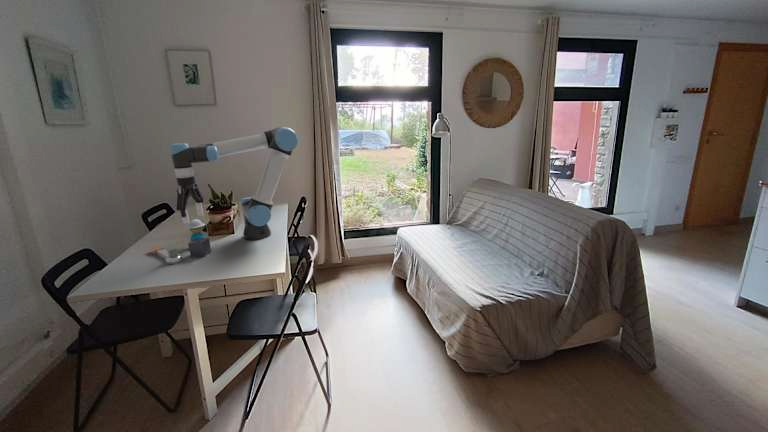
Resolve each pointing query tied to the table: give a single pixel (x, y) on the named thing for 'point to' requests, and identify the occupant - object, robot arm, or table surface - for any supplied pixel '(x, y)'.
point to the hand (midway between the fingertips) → (193, 219)
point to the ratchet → (167, 254)
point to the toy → (197, 229)
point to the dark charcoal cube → (199, 247)
